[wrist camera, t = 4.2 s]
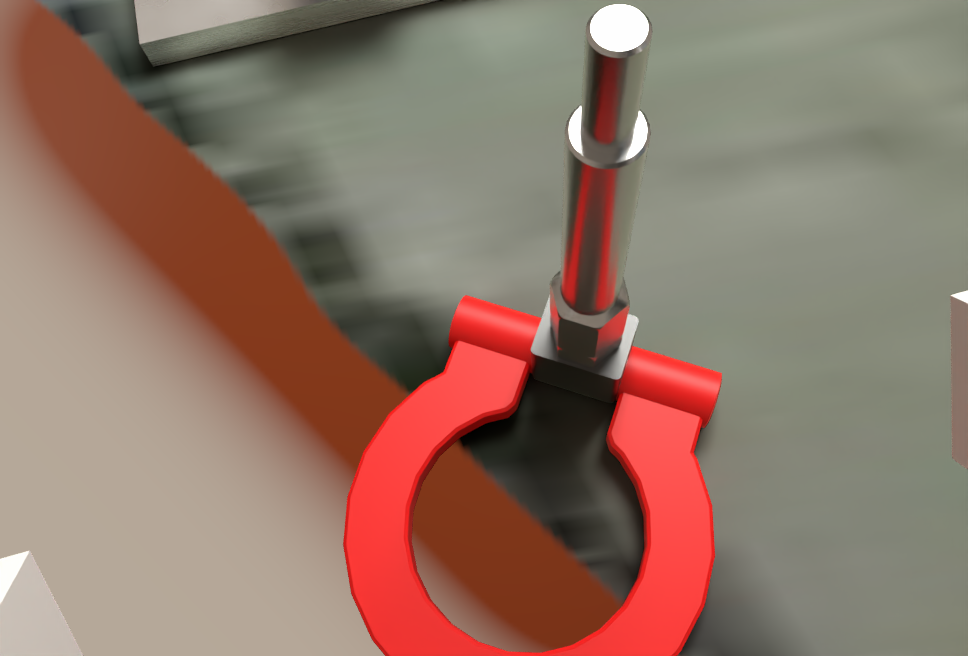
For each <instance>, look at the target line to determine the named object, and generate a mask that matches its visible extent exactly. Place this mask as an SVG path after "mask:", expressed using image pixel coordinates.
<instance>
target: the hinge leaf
mask: <svg viewBox="0 0 968 656" xmlns="http://www.w3.org/2000/svg"><path fill="white" fill-rule="evenodd" d="M434 1H438V0H134V2H135V11H136V19H137V27H138V35H139V43H140V46H141V47H142V49H143V51H144V52H145V54H146V56H147V57H148V59H149V61H150V62H151V64H152V66H153V67H155V66H159V65H164V64H168V63H172V62H176V61H181V60H185V59H189V58H194V57H198V56H202V55H206V54H211V53H215V52H219V51H224V50H228V49H232V48H236V47H241V46H245V45H249V44H254V43H258V42H262V41H266V40H271V39H275V38H279V37H284V36H288V35H292V34H296V33H301V32H305V31H309V30H314V29H318V28H322V27H326V26H331V25H335V24H339V23H344V22H348V21H352V20H356V19H361V18H365V17H369V16H374V15H378V14H382V13H386V12H391V11H395V10H399V9H404V8H408V7H412V6H417V5H421V4H425V3H429V2H434Z"/></svg>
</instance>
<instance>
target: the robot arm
mask: <svg viewBox="0 0 968 656" xmlns="http://www.w3.org/2000/svg"><path fill="white" fill-rule="evenodd" d="M950 298H951V399H952V459H954V460H955V461H957V462H958V463H959V464H961V465H962V466H963V467H965V468H966V469H968V291H964V292H961V293H957V294H953V295H950ZM0 656H83V654H82V652H81V650H80V648H79V646H78V644H77V642H76V640H75V638H74V636H73V635H72V632H71V630H70V629H69V627H68V625H67V623H66V621H65V619H64V617H63V615H62V613H61V611H60V609H59V607H58V605H57V603H56V601H55V599H54V597H53V595H52V593H51V591H50V589H49V587H48V585H47V583H46V581H45V579H44V577H43V576H42V574H41V572H40V570H39V568H38V566H37V564H36V562H35V560H34V558H33V556H32V554H31V552H30V551H27V552H23V553H20V554H16V555H12V556H9V557H5V558H2V559H0Z"/></svg>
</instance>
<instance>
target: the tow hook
mask: <svg viewBox="0 0 968 656" xmlns="http://www.w3.org/2000/svg"><path fill="white" fill-rule="evenodd" d="M652 32H653V31H652V24H651V22H650V20H649V18H648V17H647V16H646V15H645V14H644V13H643V12H642V11H641V10H639V9H637V8H635V7H633V6H630V5H624V4H614V5H609V6H606V7H603V8H601V9H599V10H598V11H596V12H595V13H594V14H593V15H592V16H591V17H590V19H589V21H588V22H587V26H586V32H585V49H584V66H583V83H582V101H581V105H579V106H578V107H577V108H576V109H575V110H574V111H573V112H572V113H571V115H570V117H569V118H568V120H567V123H566V127H565V140H564V175H563V209H562V243H561V271H559V272H558V273H557V274H556V275H555V276H554V277H553V278H552V280H551V282H550V296H549V299H548V302H547V305H546V307H545V310H544V313H543V316H542V318H539V317H536V316H533V315H529V314H526V313H523V312H519V311H516V310H513V309H510V308H506V307H503V306H500V305H496V304H493V303H490V302H487V301H483V300H480V299H477V298H473V297H470V296H467V295H465V296H464V297H463V298H462V300H461V301H460V303H459V305H458V307H457V309H456V311H455V313H454V316H453V319H452V322H451V327H450V333H449V346H450V347H451V348H453V349H452V351H451V354H450V357H449V359H448V362H447V364H446V367H445V369H444V372H443V373H441V374H439V375H437V376H435V377H433V378H432V379H430V380H428V381H426V382H424V383H423V384H421V385H420V386H419V387H418V388H417V389H416V390H415V391H414V392H413V393H411V394H410V395H409V396H408V397H407V398H406V399H405V400H404V401H403V402H401V403H400V404H399V405H398V406H397V407H396V408H395V409H394V410H393V411H391V412H390V413H389V415H388V416H387V418H386V419H385V421H384V422H383V424H382V425H381V427H380V428H379V430H378V431H377V433H376V434H375V436H374V437H373V439H372V440H371V441H370V443H369V444H368V446H367V447H366V449H365V451H364V452H363V455H362V458H361V460H360V463H359V466H358V469H357V472H356V475H355V477H354V480H353V483H352V486H351V489H350V492H349V494H348V498H347V510H346V521H345V532H344V542H343V546H344V552H345V558H346V564H347V570H348V577H349V583H350V588H351V594H352V596H353V599H354V601H355V603H356V605H357V607H358V610H359V612H360V614H361V616H362V618H363V620H364V623H365V625H366V627H367V630H368V632H369V634H370V636H371V638H372V640H373V641H374V643H375V644H376V645H377V646H378V647H379V649H380V650H381V651H382V652H383V654H384V655H385V656H677V655H678V654H679V653H680V652H681V650H682V648H683V646H684V644H685V642H686V640H687V638H688V636H689V634H690V632H691V630H692V629H693V627H694V625H695V623H696V621H697V619H698V617H699V615H700V613H701V611H702V609H703V607H704V605H705V600H706V596H707V591H708V586H709V581H710V577H711V572H712V567H713V562H714V558H715V548H714V530H713V513H712V504H711V501H710V497H709V494H708V491H707V488H706V485H705V482H704V479H703V476H702V473H701V470H700V467H699V464H698V461H697V458H696V456H695V455H694V450H695V446H696V442H697V439H698V435H699V432H700V428H701V427H702V428H705V427H706V425H707V424H708V422H709V420H710V418H711V416H712V413H713V410H714V408H715V405H716V401H717V398H718V395H719V391H720V387H721V381H722V373H719V372H716V371H713V370H710V369H706V368H703V367H700V366H696V365H693V364H690V363H687V362H683V361H680V360H677V359H674V358H670V357H667V356H664V355H660V354H657V353H654V352H651V351H647V350H644V349H641V348H637V347H634V346H632V344H633V341H634V337H635V333H636V330H637V326H638V322H639V320H638V318H637V317H636V316H634V315H630V314H628V311H629V307H630V302H629V296H628V292H627V288H626V284H625V281H624V277H623V274H624V269H625V264H626V259H627V254H628V249H629V244H630V239H631V233H632V228H633V223H634V218H635V213H636V208H637V203H638V198H639V193H640V187H641V182H642V177H643V172H644V167H645V162H646V157H647V152H648V147H649V141H650V136H651V131H650V124H649V122H648V119H647V117H646V115H645V114H644V113H643V112H642V111H641V109H640V104H641V98H642V92H643V86H644V80H645V74H646V68H647V62H648V56H649V50H650V44H651V38H652ZM530 373H532V375H533V378H534V379H536V380H538V381H541V382H544V383H547V384H550V385H554V386H557V387H560V388H563V389H566V390H569V391H572V392H576V393H579V394H582V395H585V396H588V397H591V398H594V399H598V400H601V401H604V402H607V403H613V402H614V401H615V400H617V404H616V408H615V411H614V414H613V417H612V420H611V424H610V427H609V430H608V433H607V437H606V442H607V445H608V448H609V451H610V452H611V453H612V454H613V455H614V456H615V457H616V458H617V459H618V460H619V461H620V463H621V465H622V466H623V468H624V470H625V471H626V473H627V475H628V476H629V478H630V480H631V481H632V483H633V485H634V486H635V489H636V493H637V496H638V500H639V503H640V506H641V510H642V513H643V517H644V551H643V556H642V560H641V564H640V568H639V573H638V577H637V580H636V581H635V583H634V585H633V587H632V589H631V591H630V592H629V594H628V596H627V598H626V600H625V602H624V603H623V605H622V607H621V608H620V609H619V610H618V611H617V612H616V613H615V614H614V615H613V616H612V617H611V618H610V619H609V620H608V621H607V622H606V623H605V624H604V625H603V626H602V627H601V628H600V629H599V630H598V631H596V632H594V633H592V634H591V635H589V636H587V637H586V638H584V639H582V640H580V641H578V642H577V643H575V644H573V645H571V646H567V647H563V648H558V649H555V650H550V651H546V652H542V653H531V652H508V651H505V650H502V649H499V648H496V647H493V646H490V645H487V644H484V643H481V642H478V641H477V640H475V639H473V638H472V637H471V636H469V635H468V634H466V633H465V632H463V631H462V630H460V629H459V628H457V627H456V626H454V625H453V624H451V622H450V621H449V620H448V619H447V618H446V617H445V615H444V614H443V613H442V612H441V611H440V610H439V609H438V607H437V606H436V605H435V604H434V603H433V602H432V600H431V599H430V597H429V594H428V592H427V590H426V588H425V586H424V584H423V582H422V580H421V578H420V576H419V574H418V572H417V566H416V561H415V556H414V551H413V546H412V527H413V511H414V507H415V504H416V501H417V499H418V496H419V492H420V489H421V486H422V483H423V481H424V480H425V478H426V476H427V475H428V473H429V471H430V470H431V469H432V467H433V466H434V464H435V462H436V461H437V459H438V458H439V456H440V455H442V454H443V453H444V452H445V451H446V450H447V449H448V448H449V447H450V446H451V445H452V444H454V443H455V442H456V441H457V440H458V439H459V438H460V437H461V436H463V435H465V434H467V433H469V432H471V431H473V430H474V429H476V428H478V427H480V426H482V425H484V424H486V423H489V422H493V421H497V420H501V419H505V418H508V417H510V416H511V415H512V414H513V413H514V412H515V411H516V410H517V408H518V405H519V402H520V399H521V397H522V394H523V391H524V388H525V385H526V382H527V380H528V377H529V374H530Z"/></svg>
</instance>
